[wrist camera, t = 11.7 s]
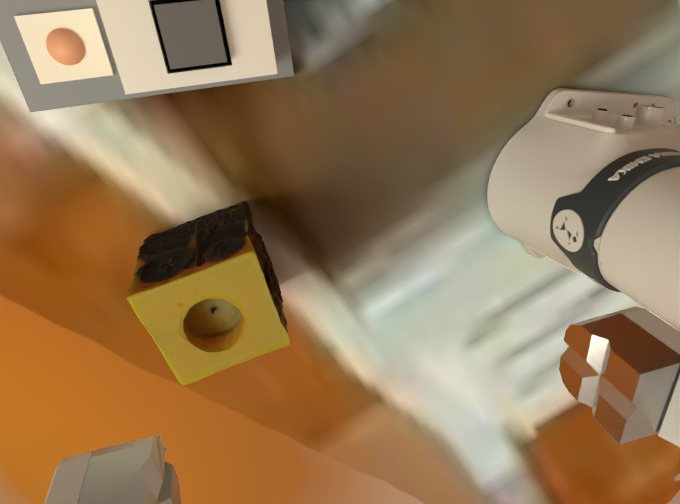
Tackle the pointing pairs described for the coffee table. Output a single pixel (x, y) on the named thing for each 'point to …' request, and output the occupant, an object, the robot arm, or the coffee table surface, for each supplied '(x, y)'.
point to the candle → (209, 294)
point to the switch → (191, 33)
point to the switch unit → (131, 49)
